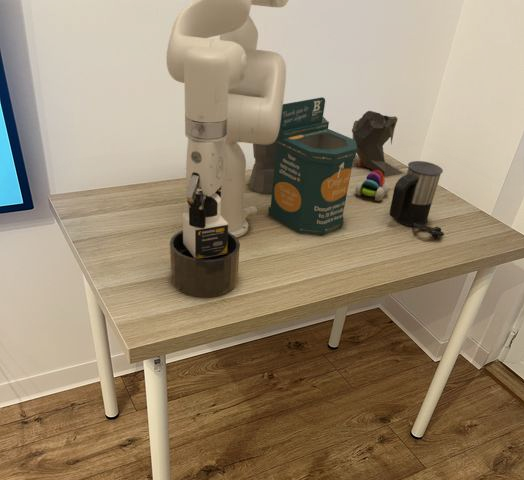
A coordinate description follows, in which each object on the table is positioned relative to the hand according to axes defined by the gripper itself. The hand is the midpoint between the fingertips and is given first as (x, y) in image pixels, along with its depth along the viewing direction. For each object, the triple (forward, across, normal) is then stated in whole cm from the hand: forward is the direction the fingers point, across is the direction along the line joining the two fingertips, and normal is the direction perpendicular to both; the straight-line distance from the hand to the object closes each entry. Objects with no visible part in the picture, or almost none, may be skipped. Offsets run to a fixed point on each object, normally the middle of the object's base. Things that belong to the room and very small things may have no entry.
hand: (205, 216), depth 106 cm
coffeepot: (+15, +53, +1) cm, 55 cm away
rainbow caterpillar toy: (+15, +62, -29) cm, 70 cm away
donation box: (+15, +39, -15) cm, 44 cm away
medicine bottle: (+8, 0, 0) cm, 8 cm away
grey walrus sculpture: (+15, +85, -26) cm, 90 cm away
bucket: (+15, 0, 0) cm, 15 cm away
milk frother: (+15, +48, -44) cm, 66 cm away
